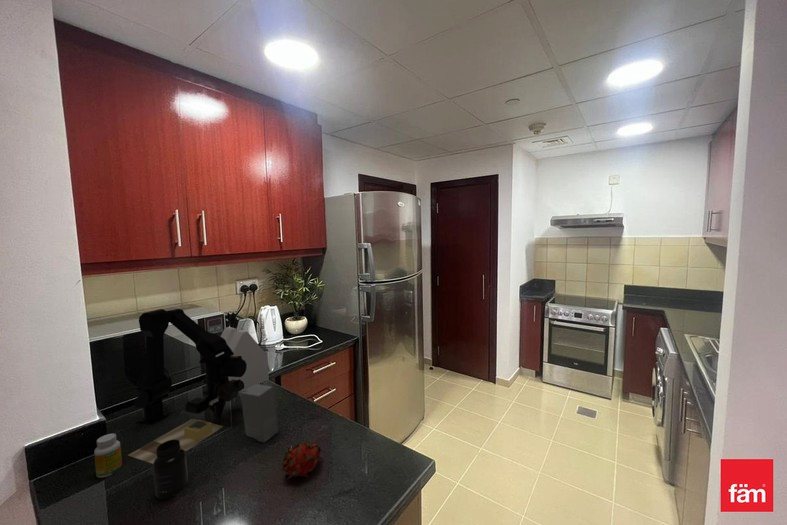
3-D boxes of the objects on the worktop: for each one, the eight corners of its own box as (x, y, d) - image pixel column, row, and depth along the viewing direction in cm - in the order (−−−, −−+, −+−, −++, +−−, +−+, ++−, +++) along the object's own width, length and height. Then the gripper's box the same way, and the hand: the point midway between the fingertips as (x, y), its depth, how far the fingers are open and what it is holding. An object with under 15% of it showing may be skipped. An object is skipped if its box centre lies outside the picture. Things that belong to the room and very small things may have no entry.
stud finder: (184, 437, 100) (183, 425, 99) (199, 428, 104) (198, 417, 104) (198, 440, 98) (197, 429, 97) (212, 431, 102) (211, 420, 102)
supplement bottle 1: (106, 479, 84) (103, 444, 83) (90, 477, 85) (87, 442, 84) (127, 465, 89) (124, 432, 88) (112, 463, 90) (109, 431, 89)
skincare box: (279, 432, 102) (276, 385, 101) (261, 445, 96) (258, 395, 95) (260, 426, 106) (257, 381, 105) (242, 439, 99) (239, 390, 98)
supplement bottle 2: (166, 481, 82) (163, 437, 82) (193, 478, 83) (190, 435, 82) (148, 502, 76) (144, 455, 75) (178, 499, 76) (174, 452, 75)
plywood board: (121, 456, 93) (121, 453, 93) (186, 420, 112) (186, 417, 111) (169, 472, 85) (169, 469, 85) (230, 430, 104) (230, 427, 104)
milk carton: (250, 373, 152) (247, 322, 150) (268, 380, 143) (265, 326, 141) (208, 388, 136) (204, 332, 135) (226, 398, 127) (222, 338, 126)
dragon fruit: (278, 491, 80) (317, 471, 89) (295, 484, 76) (334, 463, 85) (270, 455, 83) (308, 439, 92) (286, 446, 79) (324, 431, 88)
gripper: (207, 390, 95) (211, 439, 96) (254, 367, 113) (257, 409, 114) (182, 385, 99) (186, 433, 100) (231, 363, 117) (234, 404, 118)
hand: (218, 419), depth 108 cm, fingers closed
